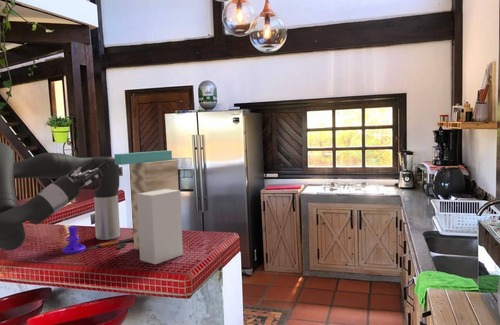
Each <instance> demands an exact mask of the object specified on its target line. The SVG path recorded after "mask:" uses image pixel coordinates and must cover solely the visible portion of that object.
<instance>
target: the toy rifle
mask: <svg viewBox="0 0 500 325" xmlns="http://www.w3.org/2000/svg"><path fill="white" fill-rule="evenodd" d="M129 243H134V237H130V238H129V237H128V238H126V239H125V238H124V239H118V240H116V241H115V240H114V241H109V242H105V243H99V244H96V245H95V246H91V247H87V248H86V249H85V250H84V251H83V252H85V251H90V250H96V249H102V248H106V247H107V246H108V247H112V246H116V247H115V250H122V249H124V248H125V247H126V246H127V244H129Z"/></svg>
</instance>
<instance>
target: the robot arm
mask: <svg viewBox="0 0 500 325" xmlns="http://www.w3.org/2000/svg"><path fill="white" fill-rule="evenodd" d="M15 159H16V155H15V151H14V149H13V148H12V147H11V146H10V145H8V144H6V143H4V142H2V141H0V249H1V250H4V251H8V252H9V251H15V250H17V249H19V248H20V247H21V246H22V245H23V244H24V242H25V239H26V231H25V227H24V223H27V222H29V223H30V224H32V225H40V224H41V223H43V222H44V221H46V220H47V219H48V218H50V217H51V216H52V215H54V214H56V212H58V211H60V210H62V209H63V208H64V207H66V206H67V205H68V204H69V203H71V202H72V201H73V200H74V199H76V198H77V197H79V196H80V193H81V192H80V188H82V187H84V186H85V187H87V188H90V187H91V186H92V185H94V184H95V183H97V182H98V181H99V183H100V184H99V186H98V187H97V188H95V189H94V190H93V200H94V231H95V238H96V240H101V241H102V240H105V241H107V240H113V239H118V238H119V237H120V236H121V230H120V227H121V226H120V223H121V222H120V208H119V193H118V192H119V188H120V165H115V158H114V156H94V157H77V156H74V155H71V154H67V153H61V152H60V153H58V152H43V153H40V154H37V155H34V156H31V157H28V158H26V159H25V158H24V159H22V160H17V161H15ZM16 179H55V180H54V181H53V182H50V184H49V185H47V186H46V187H45V188H43V189H42V190H40V192H38V193H37V194H36V195H34V197H32V198H30V199H29V200H28V201H26V202H24V203H22V204H20V205H19V204H18V198H17V195H16V188H15V180H16Z"/></svg>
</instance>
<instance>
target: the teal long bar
mask: <svg viewBox="0 0 500 325" xmlns="http://www.w3.org/2000/svg"><path fill="white" fill-rule="evenodd" d="M113 158H115V165H119V166H120V165H121V166H123V165H124V166H125V165H130V164H135V163H145V162H155V161H166V160H173V153H172V150H155V151H140V152H126V153H114V156H113Z"/></svg>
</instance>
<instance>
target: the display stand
mask: <svg viewBox="0 0 500 325" xmlns="http://www.w3.org/2000/svg"><path fill="white" fill-rule="evenodd" d="M178 168H179V165H178V159H172V160H166V161H155V162H145V163H135V164H129V175H130V178H129V179H130V194H131V195H130V196H131V198H130V199H131V213H132V214H131V216H132V235H133V237H132V238H134V242H133V249H134V250H138V251H139V231H138V212H137V194H138V193H144V192H150V191H155V190H161V189H171V190H180V189H179V169H178Z"/></svg>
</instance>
